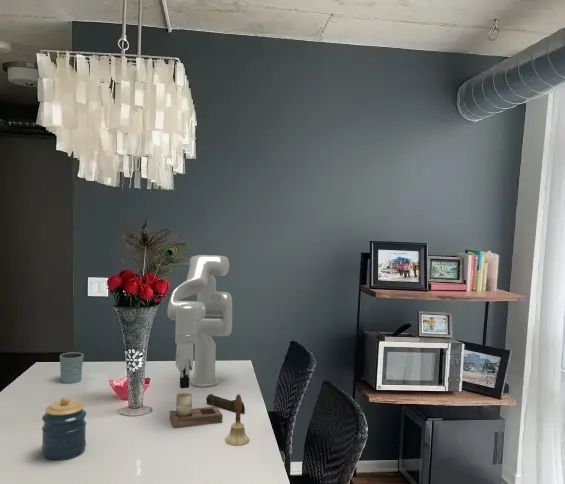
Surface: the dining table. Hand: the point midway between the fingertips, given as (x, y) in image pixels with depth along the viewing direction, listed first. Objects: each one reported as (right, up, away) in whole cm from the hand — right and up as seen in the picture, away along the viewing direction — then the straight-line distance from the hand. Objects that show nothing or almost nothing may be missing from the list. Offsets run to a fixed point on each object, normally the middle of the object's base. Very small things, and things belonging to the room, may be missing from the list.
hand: (184, 387), depth 191 cm
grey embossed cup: (-60, -10, +44) cm, 75 cm away
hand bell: (+21, -15, -14) cm, 29 cm away
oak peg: (0, -13, +1) cm, 13 cm away
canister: (-33, -13, -26) cm, 44 cm away
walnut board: (+4, -13, +2) cm, 14 cm away
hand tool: (+14, -13, +17) cm, 26 cm away
